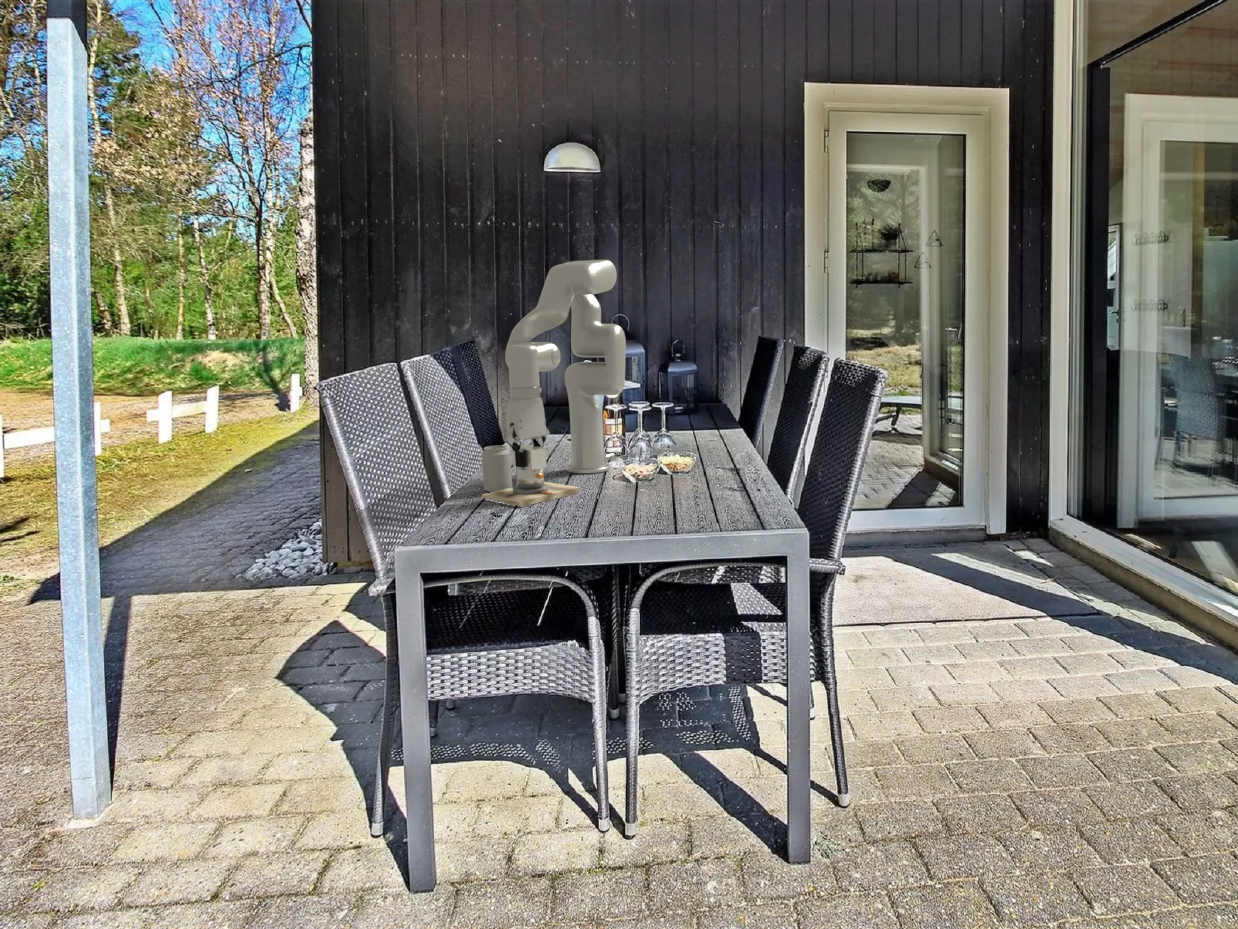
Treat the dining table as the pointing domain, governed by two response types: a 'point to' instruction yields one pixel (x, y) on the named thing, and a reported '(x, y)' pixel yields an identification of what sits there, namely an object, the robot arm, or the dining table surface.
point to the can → (496, 468)
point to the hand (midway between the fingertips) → (529, 464)
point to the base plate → (531, 494)
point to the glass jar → (531, 468)
